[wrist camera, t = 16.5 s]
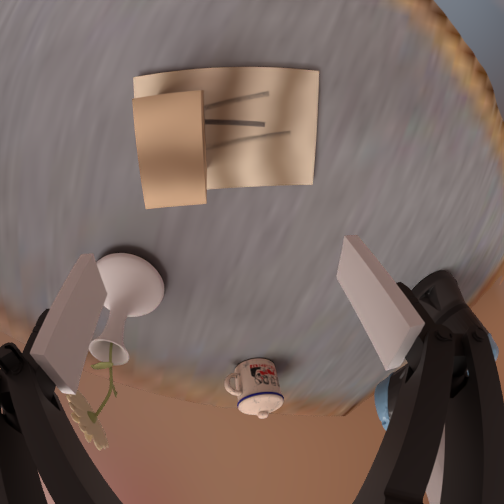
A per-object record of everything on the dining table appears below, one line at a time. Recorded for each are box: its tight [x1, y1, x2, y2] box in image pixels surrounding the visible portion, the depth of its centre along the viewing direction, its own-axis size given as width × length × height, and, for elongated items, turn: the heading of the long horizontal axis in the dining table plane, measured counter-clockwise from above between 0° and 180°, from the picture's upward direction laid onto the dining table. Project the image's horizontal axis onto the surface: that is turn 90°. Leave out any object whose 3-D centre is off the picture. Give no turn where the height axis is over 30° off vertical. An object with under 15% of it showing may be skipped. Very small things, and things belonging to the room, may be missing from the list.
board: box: [133, 67, 319, 189], centre depth 29 cm, size 20×14×2 cm
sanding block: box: [132, 90, 207, 209], centre depth 23 cm, size 9×5×10 cm, turn 0°
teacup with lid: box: [225, 358, 284, 418], centre depth 50 cm, size 12×9×12 cm
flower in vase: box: [66, 253, 164, 450], centre depth 29 cm, size 13×11×25 cm
